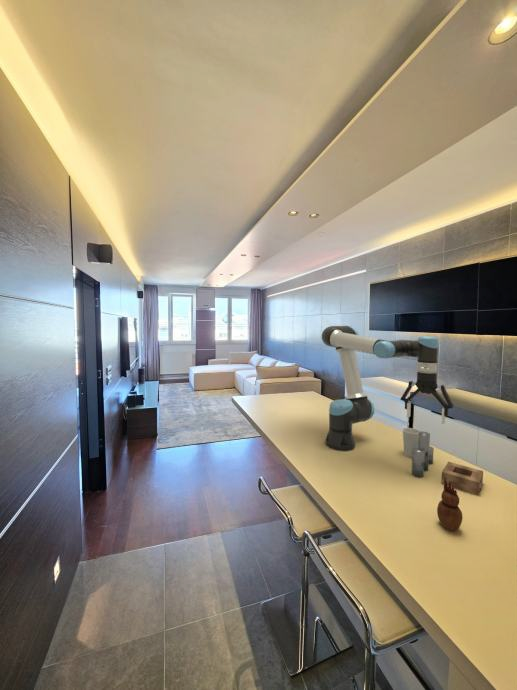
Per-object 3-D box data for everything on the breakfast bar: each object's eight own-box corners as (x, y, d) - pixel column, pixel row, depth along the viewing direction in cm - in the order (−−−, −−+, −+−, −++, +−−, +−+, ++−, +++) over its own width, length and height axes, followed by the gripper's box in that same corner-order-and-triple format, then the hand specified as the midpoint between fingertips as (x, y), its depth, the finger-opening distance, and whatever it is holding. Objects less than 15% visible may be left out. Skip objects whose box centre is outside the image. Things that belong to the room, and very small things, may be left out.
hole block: (441, 483, 118) (441, 471, 118) (447, 472, 127) (448, 461, 127) (478, 495, 110) (479, 482, 110) (482, 483, 119) (483, 471, 119)
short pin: (420, 462, 137) (421, 447, 136) (423, 459, 140) (424, 444, 139) (431, 465, 134) (432, 450, 133) (434, 462, 137) (434, 447, 136)
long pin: (415, 468, 131) (417, 433, 130) (418, 464, 134) (420, 430, 133) (426, 471, 128) (428, 435, 127) (429, 468, 131) (431, 433, 130)
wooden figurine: (433, 519, 97) (435, 475, 96) (449, 518, 97) (451, 474, 96) (447, 534, 90) (450, 487, 89) (465, 533, 90) (468, 486, 89)
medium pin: (410, 475, 125) (411, 450, 124) (413, 471, 128) (414, 446, 128) (421, 478, 122) (422, 453, 121) (424, 474, 125) (425, 449, 125)
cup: (422, 458, 140) (423, 434, 139) (404, 457, 142) (405, 433, 141) (416, 451, 148) (417, 428, 147) (399, 450, 150) (400, 427, 149)
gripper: (393, 370, 134) (392, 415, 135) (459, 376, 117) (457, 428, 118) (399, 368, 139) (398, 412, 141) (463, 374, 122) (460, 424, 124)
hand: (425, 419), depth 129 cm, fingers open, 13 cm apart
